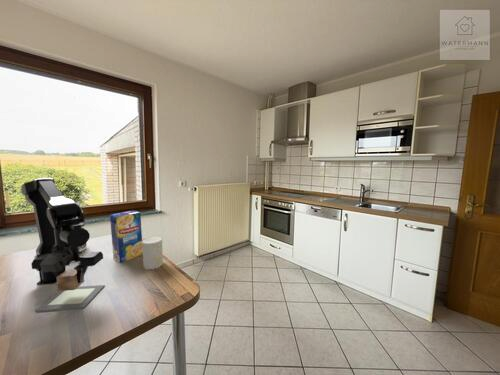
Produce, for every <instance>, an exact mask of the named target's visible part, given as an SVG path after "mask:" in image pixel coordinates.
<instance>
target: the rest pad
mask: <svg viewBox="0 0 500 375" xmlns="http://www.w3.org/2000/svg"><path fill="white" fill-rule="evenodd" d="M105 287H106V286H105V284H100V285H85V286H84V285H83V286H82V285H80V286H79V287H77V288H76V289H75V290H66V291H57V292H56V293H55V294H54V295H52V296H51V297H50V298H49V299H48V300H46V301H45V302H44V303H43V304H42V305H40V306H39V307H38V308H37V309H35V311H34V312H35V313H38V312H53V311H65V310H66V311H68V310H79V309H85V308H86V307H87V306H88V304H90V302H91V301H92V300H94V298H95V297H96V296H97V295H98V294H99V293H100V292H101V291H102V290H103V289H104V288H105Z"/></svg>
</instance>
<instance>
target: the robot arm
mask: <svg viewBox="0 0 500 375" xmlns="http://www.w3.org/2000/svg"><path fill="white" fill-rule="evenodd" d="M20 190H21V194H22V196H24V198H25V201H26V202H28V203H29V204H31V205H32V207H33V212H34V217H35V222H36V228H37V233H38V238H39V244H38V246H37V248H36V249H35V254H36V255H35V256H34V258H33V260H32V261H31V264H30V265H31V269H32V270H36V271H37V272H38V273H39V281H38V282H36V285H49V284H51V285H52V284H57V278H56V277H57V276H58V275H60V274H61V273H63V272H64V271H66V270H67V269H66V267H67V266H70V264H71V263H78V264H77V265H76V266H75V267H73V269H75V270H77V279H78V283H81V282H82V280H83V277H84V278H85V275H86V273H87V272H86V271H87V270H88V268H89V267H93V266H95V265H97V264H98V263H100V261H102V260H103V259H104V254H103V252H102V251H90V252H88V253H87V254H85V255H81V254H83V250H79V247H80V246H82V245H84V244H85V243H86V244H87V242H88V241H89V240H90V236H91V235H90V232H89V231H88V230H87V229H86V228H84V229H83V228H81V224H79V223H83V222H84V223H85V222H86V221H85V219H84V218H86V215H84V211H83V209H82V210H81V208H80V207H79V205H77V204H76V203H77V202H75V200H73V199H71V198H68V197H65V195H64V194H63V193H62V192H61V191H60V189H59V188H58V186H57V185H56V183H55V180H54V177H53V178H51V177H42V178H41V177H40V178H36V179H32V180H31V181H27V182H24V183H23V184H21V189H20ZM82 211H83V212H82ZM76 217H78V218H77V219H75V218H76ZM69 219H71V220H69ZM84 223H83V224H84Z"/></svg>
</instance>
